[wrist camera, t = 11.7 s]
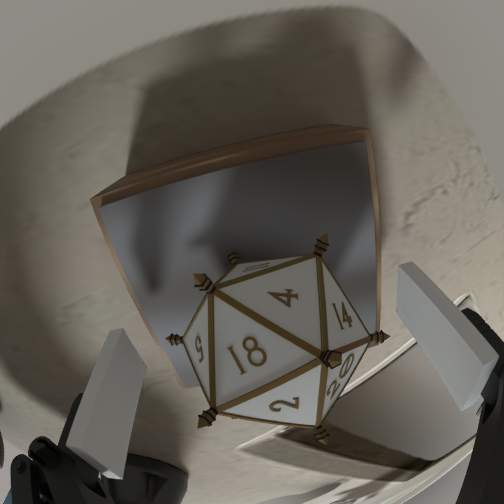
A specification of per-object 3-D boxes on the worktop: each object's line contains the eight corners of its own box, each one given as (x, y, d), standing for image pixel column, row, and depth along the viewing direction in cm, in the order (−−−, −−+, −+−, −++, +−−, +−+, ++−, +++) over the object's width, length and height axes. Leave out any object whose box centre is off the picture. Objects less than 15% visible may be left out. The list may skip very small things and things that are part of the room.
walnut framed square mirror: (353, 299, 24) (380, 348, 18) (189, 337, 24) (181, 392, 19) (333, 123, 18) (373, 129, 12) (125, 175, 18) (86, 201, 13)
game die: (259, 229, 18) (359, 158, 9) (333, 338, 18) (461, 352, 9) (134, 317, 15) (98, 339, 6) (226, 429, 15) (297, 531, 6)
